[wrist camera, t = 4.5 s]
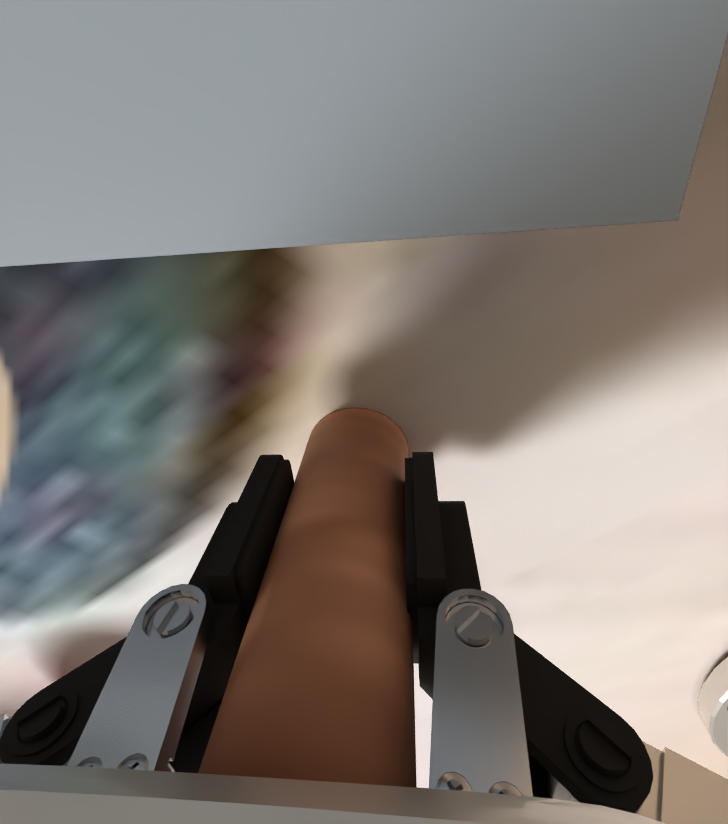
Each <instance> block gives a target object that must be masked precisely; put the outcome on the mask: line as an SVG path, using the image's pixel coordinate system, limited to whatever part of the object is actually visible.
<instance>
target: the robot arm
mask: <svg viewBox="0 0 728 824" xmlns="http://www.w3.org/2000/svg"><path fill="white" fill-rule="evenodd" d="M293 486H294V479H293V474H292V469H291V464H290V461H289V460H284V459H283V456H282V455H261V456H260V457H259V459H258V461H257V463H256V465H255V467H254V469H253V471H252V473H251V475H250V477H249V479H248V482H247V484H246V486H245V488H244V490H243V492H242V494H241V496H240V498H239V500H238V502H232V503H231V504H229V505H228V507H227V508H226V510H225V512H224V514H223V516H222V518H221V520H220V522H219V524H218V526H217V528H216V530H215V532H214V534H213V536H212V538H211V540H210V542H209V544H208V546H207V548H206V550H205V552H204V554H203V556H202V558H201V560H200V562H199V564H198V566H197V568H196V570H195V572H194V574H193V576H192V578H191V580H190V582H189V584H181V585H176V586H171V587H169V588H167V589H165V590H162V591H160V592H159V593H158V594H156V595H155V596H153V597H152V598H151V599H150V600H149V601H148V602H147V603H146V604H145V605H144V606H143V607H142V609H141V610H140V612H139V613H138V615H137V617H136V619H135V621H134V623H133V625H132V628H131V630H130V632H129V634H128V636H127V637H126V638H124V639H122V640H121V641H119V642H118V643H116V644H114V645H113V646H111V647H110V648H108V649H106V650H105V651H103V652H102V653H100V654H98V655H97V656H95V657H94V658H92V659H90V660H89V661H87V662H86V663H84V664H82V665H81V666H79V667H78V668H76V669H74V670H73V671H71V672H70V673H68V674H66V675H65V676H63V677H62V678H60V679H58V680H57V681H55V682H54V683H52V684H50V685H49V686H47V687H46V688H44V689H42V690H41V691H39V692H38V693H37V694H35V695H34V696H33V697H31V698H30V699H29V700H27V701H26V702H25V703H24V704H23V705H22V706H21V707H20V708H19V709H18V710H17V711H16V713H15V714H14V715H13V717H10V718H9V717H8V716H7V715H6V714H3V715H0V824H728V779H726V778H724V777H722V776H720V775H718V774H716V773H714V772H712V771H710V770H708V769H707V768H705V767H703V766H701V765H699V764H697V763H695V762H693V761H691V760H689V759H687V758H685V757H683V756H681V755H680V754H678V753H676V752H674V751H672V750H670V749H668V748H666V747H665V748H664V750H663V751H660V750H658V749H656V748H654V747H652V746H651V745H649V744H647V743H645V742H643V741H642V740H641V739H640V738H639V736H638V735H637V733H636V732H635V730H634V729H633V728H632V727H631V726H630V725H629V724H628V723H627V722H626V721H625V720H624V719H622V718H621V717H620V716H619V715H618V714H617V713H615V712H614V711H613V710H611V709H610V708H609V707H608V706H606V705H605V704H604V703H602V702H601V701H600V700H599V699H597V698H596V697H595V696H593V695H592V694H591V693H590V692H588V691H587V690H586V689H584V688H583V687H582V686H581V685H579V684H578V683H577V682H575V681H574V680H573V679H572V678H570V677H569V676H568V675H566V674H565V673H564V672H563V671H561V670H560V669H559V668H558V667H556V666H555V665H554V664H552V663H551V662H550V661H549V660H547V659H546V658H545V657H543V656H542V655H541V654H540V653H538V652H537V651H536V650H534V649H533V648H532V647H531V646H529V645H528V644H527V643H525V642H524V641H523V640H522V639H520V638H519V637H518V636H516V635H515V634H514V632H513V624H512V621H511V618H510V614H509V613H508V611H507V610H506V608H505V606H504V605H503V604H502V603H501V602H500V601H499V600H498V599H496V598H495V597H494V596H492V595H490V594H488V593H486V592H484V591H481V586H480V581H479V575H478V570H477V564H476V559H475V554H474V548H473V543H472V537H471V532H470V527H469V521H468V516H467V510H466V506H465V502H464V501H438V496H437V486H436V477H435V467H434V458H433V452H413V458H405V541H406V593H407V611H408V613H409V614H410V617H411V620H412V627H413V663H419V679H420V687H421V688H422V689H423V690H424V691H425V692H426V693H427V694H428V695H429V696H430V697H431V698H432V699H433V709H432V731H431V753H430V776H429V788H414V787H400V786H385V785H371V784H356V783H341V782H326V781H310V780H295V779H279V778H264V777H248V776H232V775H216V774H200V773H198V772H199V769H200V766H201V763H202V760H203V757H204V754H205V751H206V748H207V745H208V742H209V739H210V736H211V733H212V730H213V727H214V724H215V721H216V718H217V714H218V711H219V708H220V705H221V702H222V699H223V696H224V693H225V690H226V687H227V684H228V681H229V678H230V675H231V672H232V669H233V666H234V663H235V660H236V657H237V654H238V651H239V648H240V645H241V642H242V639H243V636H244V633H245V630H246V627H247V624H248V621H249V618H250V615H251V612H252V609H253V606H254V603H255V600H256V597H257V594H258V591H259V588H260V585H261V582H262V579H263V576H264V573H265V570H266V567H267V564H268V561H269V558H270V555H271V552H272V549H273V546H274V543H275V540H276V537H277V534H278V531H279V528H280V525H281V522H282V519H283V516H284V513H285V510H286V507H287V504H288V501H289V498H290V495H291V492H292V489H293ZM698 711H699V716H700V718H701V720H702V722H703V724H704V726H705V728H706V730H707V732H708V734H709V736H710V737H711V739H712V741H713V743H714V744H715V745H716V746H717V748H718V749H719V750H720V751H721V752H722V753H723V754H724V755H726V756H727V757H728V656H727V657H726V658H725V659H724V660H723V661H722V662H721V663H720V664H719V665H718V666H717V667H715V668H714V670H713V671H712V672H711V674H710V675H709V677H708V678H707V680H706V681H705V683H704V684H703V686H702V689H701V692H700V695H699V698H698Z"/></svg>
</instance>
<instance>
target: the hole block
mask: <svg viewBox="0 0 728 824" xmlns="http://www.w3.org/2000/svg"><path fill="white" fill-rule="evenodd" d="M727 35H728V0H0V267H3V266H18V265H32V264H47V263H62V262H76V261H91V260H105V259H120V258H135V257H149V256H164V255H179V254H193V253H208V252H222V251H237V250H252V249H266V248H281V247H295V246H310V245H325V244H339V243H354V242H369V241H383V240H398V239H412V238H427V237H442V236H456V235H471V234H486V233H500V232H515V231H529V230H544V229H559V228H573V227H588V226H602V225H617V224H632V223H646V222H661V221H676V220H678V217H679V213H680V209H681V206H682V202H683V198H684V194H685V191H686V187H687V183H688V180H689V176H690V172H691V168H692V165H693V161H694V157H695V154H696V150H697V146H698V143H699V139H700V135H701V131H702V128H703V124H704V120H705V117H706V113H707V109H708V105H709V102H710V98H711V94H712V91H713V87H714V83H715V79H716V76H717V72H718V68H719V65H720V61H721V57H722V54H723V50H724V46H725V42H726V39H727Z"/></svg>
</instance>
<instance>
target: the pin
mask: <svg viewBox="0 0 728 824" xmlns="http://www.w3.org/2000/svg"><path fill="white" fill-rule="evenodd" d="M405 458H409V455H408V444H407V440H406V438H405V436H404V434H403V432H402V431H401V429H400V428H399V427H398V426H397V424H395V423H394V422H393V421H392V420H391V419H389V418H388V417H386V416H385V415H383V414H381V413H378V412H376V411H373V410H369V409H363V408H348V409H342V410H338V411H335V412H333V413H331V414H329V415H327V416H326V417H324V418H323V419H322V420H320V421H319V422H318V423H317V425H316V426H315V427H314V429H313V430H312V432H311V435H310V438H309V441H308V444H307V447H306V450H305V453H304V456H303V459H302V462H301V465H300V468H299V471H298V474H297V477H296V480H295V483H294V486H293V489H292V492H291V495H290V498H289V501H288V504H287V507H286V510H285V513H284V516H283V519H282V522H281V525H280V528H279V531H278V534H277V537H276V540H275V543H274V546H273V549H272V552H271V555H270V558H269V561H268V564H267V567H266V570H265V573H264V576H263V579H262V582H261V585H260V588H259V591H258V594H257V597H256V600H255V603H254V606H253V609H252V612H251V615H250V618H249V621H248V624H247V627H246V630H245V633H244V636H243V639H242V642H241V645H240V648H239V651H238V654H237V657H236V660H235V663H234V666H233V669H232V672H231V675H230V678H229V681H228V684H227V687H226V690H225V693H224V696H223V699H222V702H221V705H220V708H219V711H218V714H217V718H216V721H215V724H214V727H213V730H212V733H211V736H210V739H209V742H208V745H207V748H206V751H205V754H204V757H203V760H202V763H201V766H200V769H199V772H198V773H200V774H216V775H232V776H248V777H264V778H279V779H295V780H310V781H326V782H341V783H356V784H371V785H385V786H400V787H414V788H416V751H415V708H414V666H413V627H412V620H411V617H410V614H409V613H408V611H407V593H406V541H405Z"/></svg>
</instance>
